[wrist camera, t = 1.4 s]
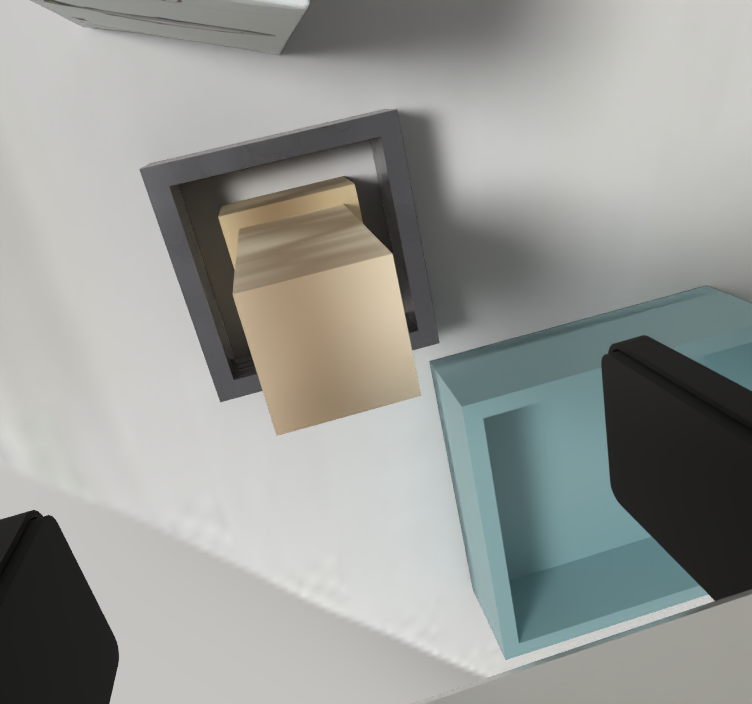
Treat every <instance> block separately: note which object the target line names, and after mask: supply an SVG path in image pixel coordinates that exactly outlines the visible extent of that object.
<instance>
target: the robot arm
mask: <svg viewBox="0 0 752 704" xmlns="http://www.w3.org/2000/svg"><path fill="white" fill-rule="evenodd" d="M601 369H602V382H603V395H604V408H605V422H606V435H607V448H608V461H609V474H610V484H611V489H612V492H613V494H614V496H615V498H616V500H617V501H618V503H619V504H620V505H621V506H622V507H623V508H624V509H625V510H626V511H627V512H628V513H629V514H630V515H631V516H632V517H633V518H634V519H635V520H636V521H637V522H638V523H639V524H640V525H641V526H642V527H643V528H644V529H645V530H646V531H647V532H648V533H649V534H650V535H651V536H652V537H653V538H654V539H655V540H656V541H657V543H658V544H659V545H660V546H661V547H662V548H663V549H664V550H665V551H666V552H667V553H668V554H669V555H670V556H671V557H672V558H673V559H674V560H675V561H676V562H677V563H678V564H679V565H680V566H681V567H682V568H683V569H684V570H685V571H686V572H687V573H688V574H689V575H690V576H691V577H692V578H693V579H694V580H695V581H696V582H697V583H698V584H699V585H700V586H701V587H702V588H703V589H704V590H705V591H706V592H707V593H708V594H709V595H710V596H711V597H712V598H713V599H714V600H715V601H714V602H711V603H708V604H705V605H702V606H699V607H696V608H693V609H690V610H687V611H684V612H681V613H678V614H675V615H672V616H669V617H666V618H663V619H660V620H657V621H654V622H651V623H648V624H646V625H643V626H640V627H637V628H634V629H631V630H628V631H625V632H622V633H619V634H616V635H613V636H610V637H607V638H604V639H601V640H598V641H595V642H592V643H589V644H586V645H583V646H580V647H577V648H574V649H571V650H568V651H565V652H562V653H559V654H556V655H553V656H550V657H547V658H544V659H541V660H538V661H535V662H533V663H530V664H527V665H524V666H521V667H518V668H515V669H512V670H509V671H506V672H503V673H500V674H497V675H494V676H492V677H489V678H486V679H483V680H480V681H477V682H474V683H471V684H468V685H465V686H462V687H459V688H456V689H453V690H451V691H448V692H445V693H442V694H439V695H436V696H433V697H430V698H427V699H424V700H422V701H418V702H415V703H413V704H752V391H751V390H749V389H747V388H745V387H743V386H741V385H739V384H738V383H736V382H734V381H732V380H730V379H728V378H726V377H724V376H722V375H721V374H719V373H717V372H715V371H713V370H711V369H709V368H707V367H706V366H704V365H702V364H700V363H698V362H696V361H694V360H692V359H690V358H689V357H687V356H685V355H683V354H681V353H679V352H677V351H675V350H673V349H672V348H670V347H668V346H666V345H664V344H662V343H660V342H658V341H656V340H655V339H653V338H651V337H649V336H646V335H642V336H638V337H635V338H631V339H628V340H624V341H621V342H617V343H614V344H612V345H611V346H610V348H609V351H608V354H605V355H604V356H603V357H602V360H601ZM118 662H119V652H118V645H117V641H116V639H115V637H114V635H113V633H112V631H111V629H110V627H109V625H108V623H107V621H106V619H105V617H104V615H103V613H102V611H101V609H100V607H99V605H98V603H97V601H96V599H95V597H94V595H93V593H92V591H91V589H90V587H89V585H88V583H87V581H86V579H85V577H84V575H83V573H82V571H81V569H80V567H79V565H78V563H77V561H76V559H75V557H74V555H73V553H72V551H71V549H70V547H69V545H68V543H67V541H66V539H65V537H64V535H63V533H62V531H61V529H60V527H59V525H58V523H57V521H56V520H55V519H54V518H53V517H52V516H50V515H48V516H44V517H43V516H42V515H41V514H40V513H39V512H38V511H35V510H32V511H29V512H26V513H22V514H18V515H15V516H11V517H8V518H4V519H1V520H0V704H109V702H110V698H111V694H112V689H113V685H114V680H115V676H116V671H117V667H118Z"/></svg>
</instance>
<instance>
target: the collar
mask: <svg viewBox="0 0 752 704" xmlns="http://www.w3.org/2000/svg"><path fill="white" fill-rule="evenodd" d="M368 139H370V141H371V146H372V151H373V156H374V161H375V166H376V171H377V176H378V181H379V186H380V191H381V196H382V201H383V206H384V211H385V216H386V221H387V226H388V231H389V236H390V241H391V246H392V251H393V256H394V261H395V265H396V270H397V275H398V280H399V285H400V290H401V295H402V300H403V305H404V310H405V318H406V323H407V328H408V333H409V338H410V343H411V348H412V350H415V349H419V348H423V347H426V346H430V345H434V344H437V343H439V338H438V332H437V327H436V321H435V316H434V310H433V305H432V299H431V294H430V288H429V282H428V277H427V271H426V266H425V260H424V255H423V249H422V244H421V238H420V233H419V227H418V222H417V216H416V211H415V205H414V200H413V194H412V189H411V183H410V178H409V172H408V167H407V161H406V156H405V150H404V145H403V139H402V133H401V128H400V122H399V117H398V111H397V109H384V110H379V111H375V112H371V113H366V114H362V115H358V116H353V117H349V118H345V119H340V120H336V121H332V122H327V123H323V124H319V125H314V126H310V127H306V128H301V129H297V130H293V131H288V132H284V133H280V134H275V135H271V136H267V137H263V138H258V139H254V140H250V141H245V142H241V143H237V144H232V145H228V146H224V147H219V148H215V149H211V150H206V151H202V152H198V153H193V154H189V155H185V156H180V157H176V158H172V159H167V160H163V161H159V162H154V163H150V164H148V165H146V166H144V167H142V168H141V169H140V172H141V175H142V178H143V181H144V184H145V187H146V189H147V192H148V195H149V198H150V201H151V204H152V207H153V210H154V212H155V215H156V218H157V221H158V224H159V227H160V230H161V233H162V236H163V238H164V241H165V244H166V247H167V250H168V253H169V256H170V259H171V261H172V264H173V267H174V270H175V273H176V276H177V279H178V282H179V284H180V287H181V290H182V293H183V296H184V299H185V302H186V305H187V307H188V310H189V313H190V316H191V319H192V322H193V325H194V328H195V330H196V333H197V336H198V339H199V342H200V345H201V348H202V351H203V353H204V356H205V359H206V362H207V365H208V368H209V371H210V374H211V377H212V379H213V382H214V385H215V388H216V391H217V394H218V397H219V400H220V402H223V401H226V400H230V399H234V398H238V397H241V396H245V395H249V394H252V393H256V392H260V391H263V390H262V387H261V384H260V381H259V377H258V374H257V371H256V368H255V365H254V361H253V358H252V355H251V354H249V355H245V356H241V357H237V358H235V357H234V354H233V350H232V347H231V344H230V341H229V338H228V335H227V332H226V329H225V326H224V323H223V320H222V317H221V314H220V311H219V308H218V305H217V302H216V298H215V295H214V292H213V289H212V286H211V283H210V280H209V277H208V274H207V271H206V268H205V265H204V262H203V259H202V256H201V253H200V249H199V246H198V243H197V240H196V237H195V234H194V231H193V228H192V225H191V222H190V219H189V216H188V213H187V210H186V207H185V204H184V200H183V197H182V194H181V191H180V188H179V185H178V184H181V183H185V182H190V181H194V180H198V179H202V178H207V177H211V176H215V175H219V174H224V173H228V172H232V171H236V170H241V169H245V168H249V167H253V166H258V165H262V164H266V163H270V162H275V161H279V160H283V159H287V158H292V157H296V156H300V155H304V154H309V153H313V152H317V151H321V150H326V149H330V148H334V147H338V146H343V145H347V144H351V143H355V142H360V141H364V140H368Z"/></svg>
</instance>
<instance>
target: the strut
mask: <svg viewBox="0 0 752 704" xmlns="http://www.w3.org/2000/svg"><path fill="white" fill-rule="evenodd" d="M218 218H219V221H220V225H221V228H222V231H223V234H224V238H225V241H226V244H227V247H228V251H229V254H230V257H231V260H232V264H233V267H234V270H235V274H234V284H233V294H232V295H233V298H234V301H235V304H236V307H237V311H238V314H239V317H240V320H241V323H242V326H243V330H244V333H245V336H246V339H247V342H248V346H249V349H250V352H251V355H252V358H253V361H254V365H255V368H256V371H257V374H258V377H259V381H260V384H261V387H262V390H263V393H264V397H265V400H266V403H267V406H268V409H269V412H270V416H271V419H272V422H273V425H274V428H275V432H276V435H281V434H285V433H288V432H292V431H296V430H299V429H303V428H306V427H310V426H314V425H317V424H321V423H324V422H328V421H332V420H335V419H339V418H342V417H346V416H350V415H353V414H357V413H360V412H364V411H368V410H371V409H375V408H378V407H382V406H386V405H389V404H393V403H396V402H400V401H404V400H407V399H411V398H414V397H418V396H421V392H420V387H419V383H418V378H417V373H416V368H415V363H414V358H413V353H412V348H411V343H410V338H409V333H408V328H407V323H406V318H405V313H404V308H403V303H402V298H401V293H400V288H399V283H398V278H397V273H396V268H395V263H394V258H393V254H392V253H391V252H390V251H389V250H388V249H387V248H386V247H385V246H384V245H383V244H382V243H381V242H380V241H379V240H378V239H377V238H376V237H375V236H374V235H373V234H372V232H371V231H370V230H369V229H368V228H367V227H366V226H365V225H364V224H363V220H362V215H361V211H360V206H359V202H358V197H357V192H356V188H355V184H354V183H353V182H351V181H350V180H348V179H347V178H346V177H344V176H342V177H338V178H334V179H330V180H326V181H322V182H317V183H313V184H309V185H305V186H301V187H297V188H292V189H288V190H284V191H280V192H276V193H272V194H267V195H263V196H259V197H255V198H251V199H247V200H242V201H238V202H234V203H230V204H226V205H222V206H221V209H220V212H219V216H218Z"/></svg>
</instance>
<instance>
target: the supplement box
mask: <svg viewBox="0 0 752 704" xmlns="http://www.w3.org/2000/svg"><path fill="white" fill-rule="evenodd" d="M31 1H33V2H35V3H37V4H39V5H41V6H43V7H45V8H47V9H49V10H51V11H53V12H55V13H57V14H58V15H60V16H62V17H64V18H66V19H68V20H70V21H72V22H74V23H76V24H78V25H80V26H83V27H89V28H99V29H111V30H120V31H128V32H136V33H144V34H150V35H157V36H164V37H170V38H177V39H183V40H190V41H196V42H203V43H210V44H216V45H223V46H230V47H236V48H242V49H247V50H253V51H259V52H264V53H269V54H274V55H279V54H280V53H281V51H282V49H283V48H284V46H285V45H286V42H287V40H288V39H289V37H290V35H291V34H292V32H293V31H294V29H295V28H296V26H297V24H298V23H299V21H300V20H301V18H302V16H303V14H304V13H305V11H306V10H307V8H308V7H309V4H310V0H31Z"/></svg>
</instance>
